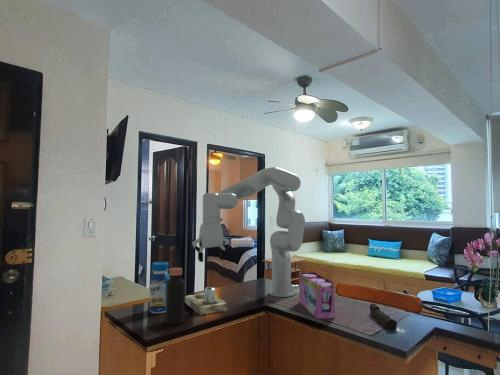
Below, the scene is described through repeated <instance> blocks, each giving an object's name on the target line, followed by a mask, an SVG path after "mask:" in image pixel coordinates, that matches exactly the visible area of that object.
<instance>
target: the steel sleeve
mask: <svg viewBox="0 0 500 375" xmlns="http://www.w3.org/2000/svg"><path fill="white" fill-rule="evenodd" d="M204 293H205V305H211V304H215V296H216V287H214V286H207V287H205V288H204Z"/></svg>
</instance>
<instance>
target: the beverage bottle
mask: <svg viewBox="0 0 500 375" xmlns="http://www.w3.org/2000/svg"><path fill="white" fill-rule="evenodd" d="M151 271H152V272H153V273H152V274H151V275H150V279H149V281H150V284H149V308H148V309H149V313H151V314H164V313H166V297H167V281H168V280H169V279H170V275H169V272H168V271H169V262H168V261H154V262H152V263H151Z"/></svg>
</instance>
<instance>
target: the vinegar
mask: <svg viewBox="0 0 500 375" xmlns="http://www.w3.org/2000/svg"><path fill="white" fill-rule="evenodd" d="M168 271H169V272H168V274H169V276H170V279H169V280H168V281H167V297H166V312H165V313H166V314H165V316H166V317H165V323H166V324H167V325H170V326H171V325H172V326H173V325H175V326H176V325H180V324H182V323H184V321H185V296H186V295H185V292H186V291H185V288H186V287H185V282H186V281H185V280H184V278H182V276H183V267H170V268H168Z"/></svg>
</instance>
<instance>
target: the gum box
mask: <svg viewBox="0 0 500 375" xmlns="http://www.w3.org/2000/svg"><path fill="white" fill-rule="evenodd" d="M298 275H299V276H298V277H299V282H298V283H299V284H298V286H299V288H298V289H299V303H300V305H302V306H303V307H304V308H305V309H306V310H307V311H308V312H309V313H311V315H312V316H314V317H315V318H316V319H336V308H335V307H336V306H335V305H336V304H335V303H336V302H335V301H336V300H335V298H336V297H335V283H334V282H333V281H332V280H330V279H328V278H325V277H324V276H322V275H320V274H318V273H316V272H315V271H314V272H310V271H309V272H299V274H298Z"/></svg>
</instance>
